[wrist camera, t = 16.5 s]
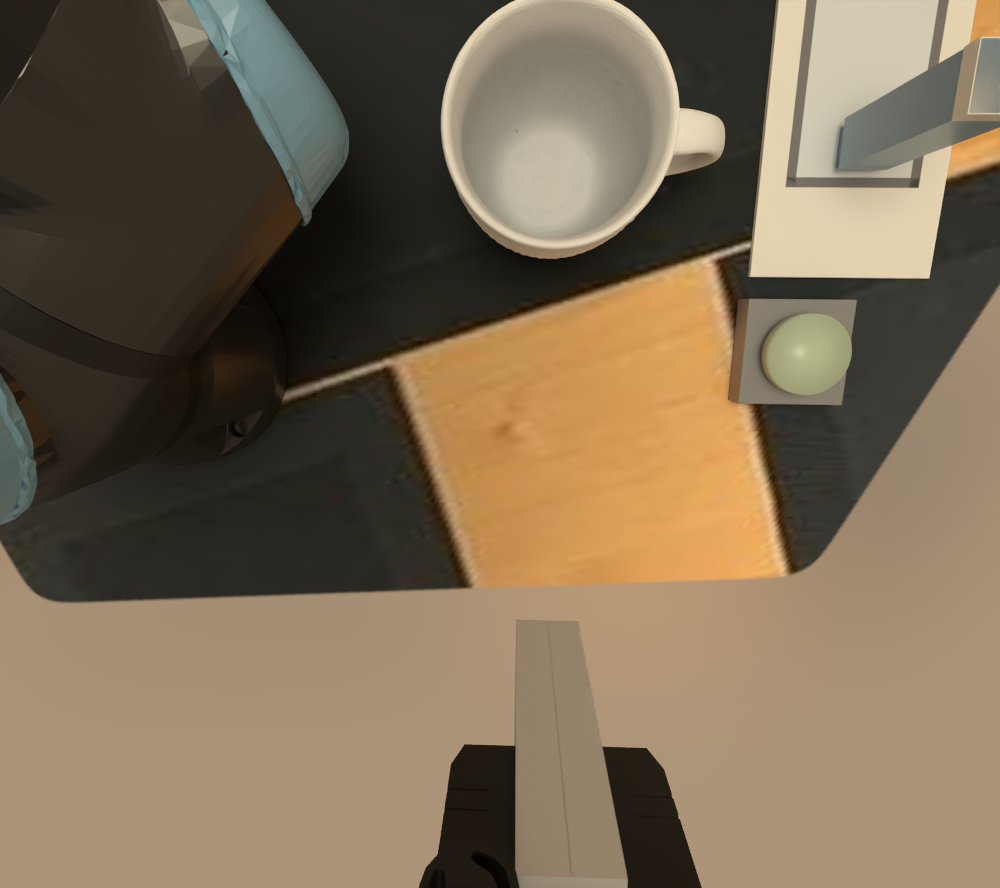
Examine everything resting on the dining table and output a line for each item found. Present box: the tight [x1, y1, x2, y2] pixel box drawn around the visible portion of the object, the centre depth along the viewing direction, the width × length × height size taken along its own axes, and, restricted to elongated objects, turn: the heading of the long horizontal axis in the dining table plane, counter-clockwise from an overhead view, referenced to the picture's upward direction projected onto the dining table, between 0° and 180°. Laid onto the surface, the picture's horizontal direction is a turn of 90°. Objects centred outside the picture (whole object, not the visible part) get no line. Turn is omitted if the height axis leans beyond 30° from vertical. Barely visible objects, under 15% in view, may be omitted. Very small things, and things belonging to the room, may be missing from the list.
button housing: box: [728, 299, 857, 405], centre depth 40 cm, size 7×7×2 cm
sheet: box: [748, 0, 977, 279], centre depth 37 cm, size 12×24×1 cm, turn 179°
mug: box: [441, 0, 725, 259], centre depth 33 cm, size 15×11×13 cm
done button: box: [761, 313, 852, 395], centre depth 39 cm, size 5×5×4 cm
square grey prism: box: [836, 37, 1000, 170], centre depth 32 cm, size 3×3×12 cm
